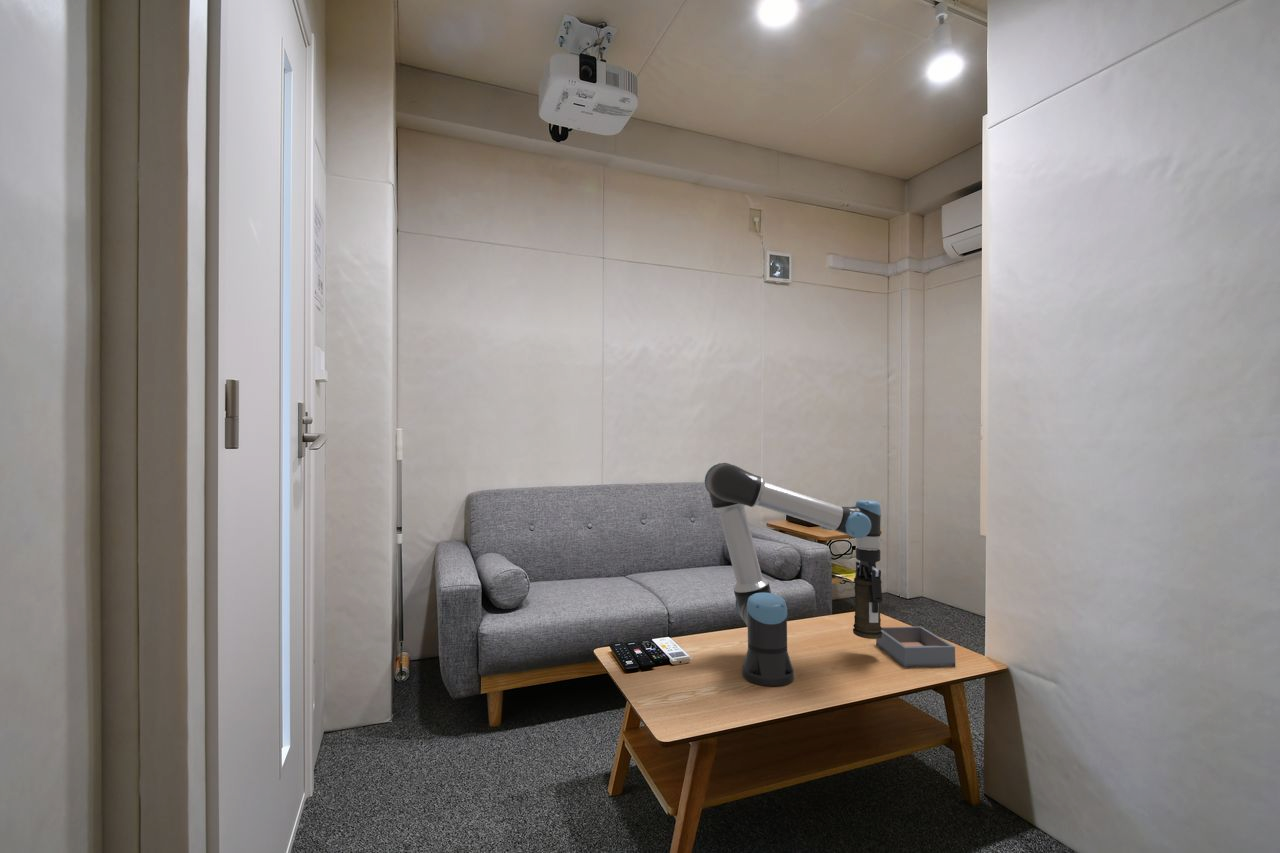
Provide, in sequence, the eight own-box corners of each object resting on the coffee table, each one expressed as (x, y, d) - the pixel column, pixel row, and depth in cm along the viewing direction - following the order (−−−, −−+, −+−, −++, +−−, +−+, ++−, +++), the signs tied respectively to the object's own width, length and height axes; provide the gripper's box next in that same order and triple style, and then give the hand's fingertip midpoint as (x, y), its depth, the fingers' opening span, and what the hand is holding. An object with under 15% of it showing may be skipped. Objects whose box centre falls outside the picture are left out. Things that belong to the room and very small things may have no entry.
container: (878, 641, 181) (878, 583, 181) (849, 635, 186) (849, 579, 187) (885, 634, 188) (886, 578, 189) (857, 628, 194) (857, 574, 194)
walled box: (904, 667, 178) (904, 648, 178) (876, 644, 198) (875, 627, 198) (955, 666, 179) (955, 646, 179) (921, 643, 199) (921, 626, 199)
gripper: (894, 554, 178) (894, 628, 177) (865, 542, 199) (865, 608, 198) (870, 554, 177) (870, 628, 177) (844, 542, 198) (843, 608, 198)
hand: (867, 618), depth 187 cm, fingers closed on container, 8 cm apart
